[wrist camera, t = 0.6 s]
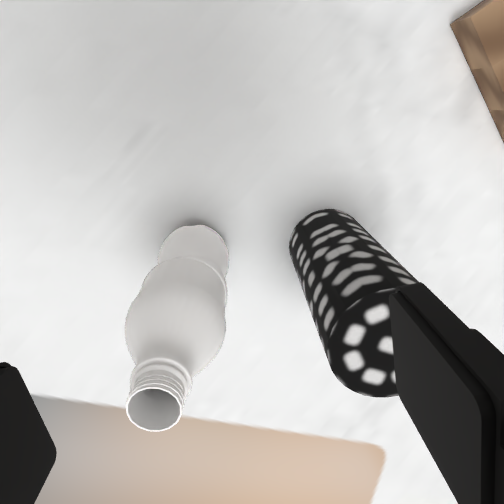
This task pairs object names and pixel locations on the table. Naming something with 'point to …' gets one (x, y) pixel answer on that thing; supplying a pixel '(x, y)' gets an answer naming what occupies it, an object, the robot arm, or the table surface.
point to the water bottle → (176, 325)
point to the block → (485, 52)
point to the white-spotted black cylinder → (349, 297)
